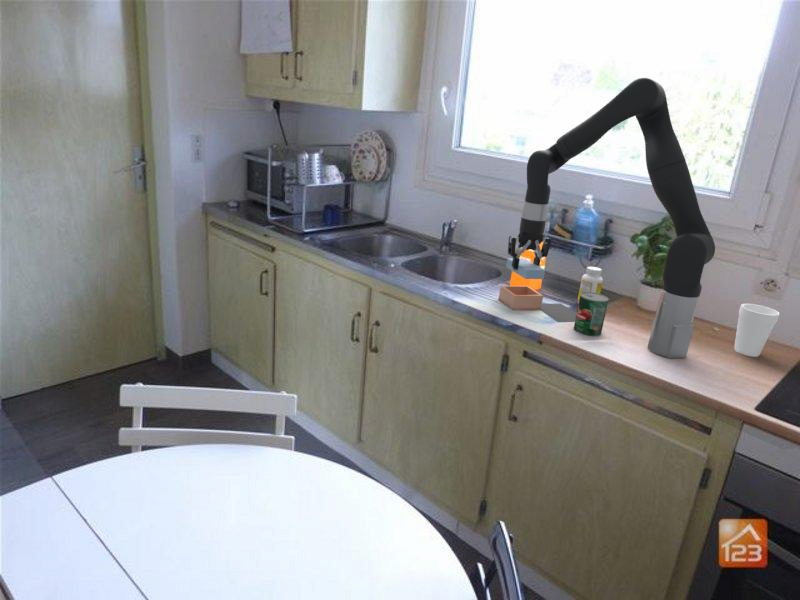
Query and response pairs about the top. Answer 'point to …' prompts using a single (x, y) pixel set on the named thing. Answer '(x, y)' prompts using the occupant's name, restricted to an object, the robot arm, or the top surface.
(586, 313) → the canned tomato
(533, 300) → the brown open box
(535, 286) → the orange juice
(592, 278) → the supplement bottle
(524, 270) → the blue-grey rectangular block
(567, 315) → the mat
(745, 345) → the foam cup
